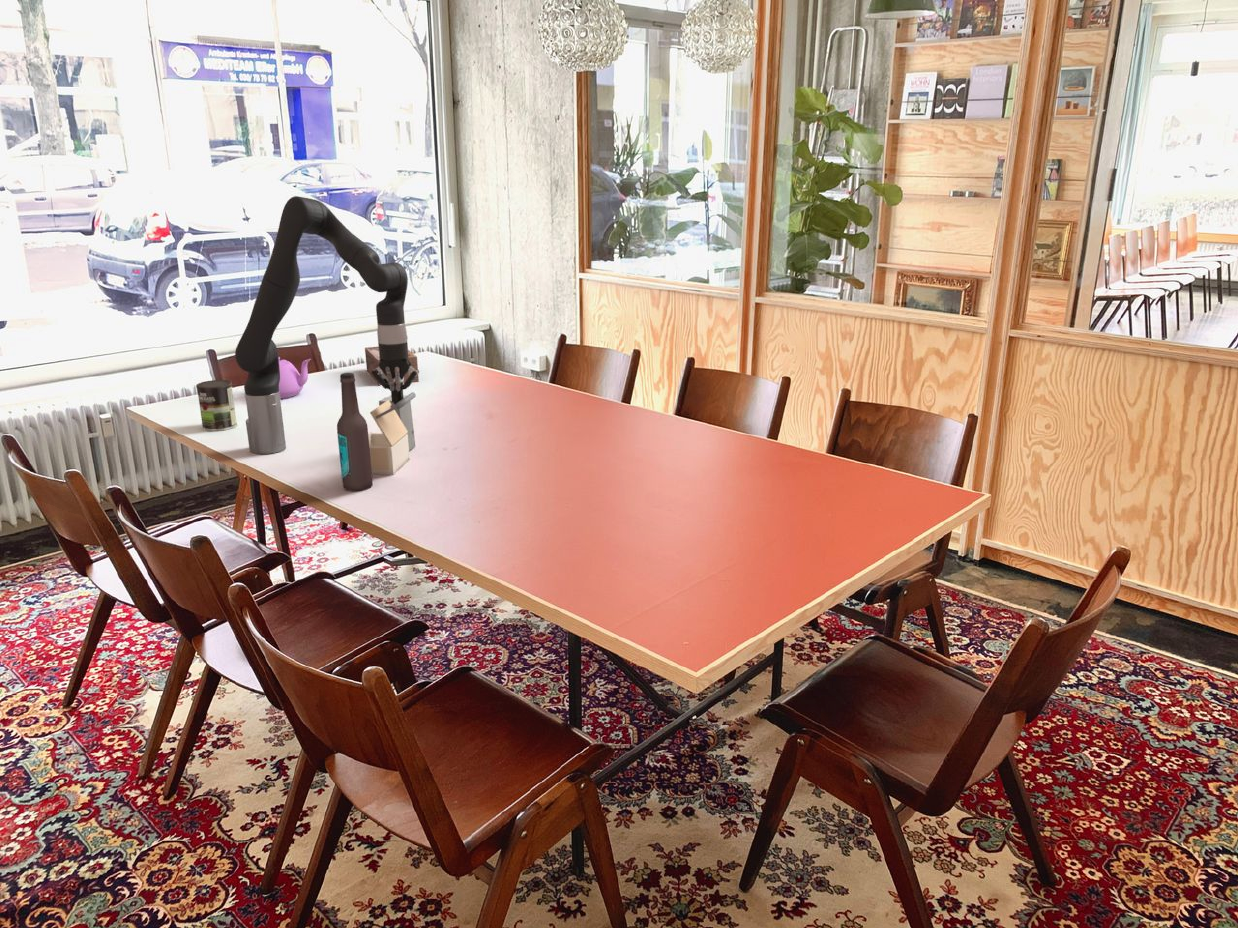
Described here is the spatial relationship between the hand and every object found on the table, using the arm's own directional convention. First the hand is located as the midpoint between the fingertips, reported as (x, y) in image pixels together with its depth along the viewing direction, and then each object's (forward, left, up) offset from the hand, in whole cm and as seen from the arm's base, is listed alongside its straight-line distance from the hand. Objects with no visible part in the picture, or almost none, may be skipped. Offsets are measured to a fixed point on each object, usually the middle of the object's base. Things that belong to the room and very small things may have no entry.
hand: (398, 403), depth 250 cm
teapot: (-69, +73, -18) cm, 102 cm away
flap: (-3, 0, -5) cm, 6 cm away
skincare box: (-6, +15, -18) cm, 24 cm away
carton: (-6, 0, -18) cm, 19 cm away
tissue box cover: (-41, +105, -19) cm, 114 cm away
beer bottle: (-6, -17, -18) cm, 25 cm away
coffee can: (-71, +32, -18) cm, 80 cm away
